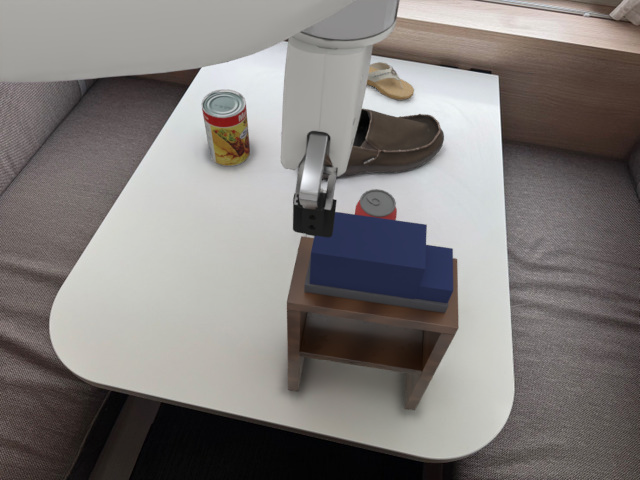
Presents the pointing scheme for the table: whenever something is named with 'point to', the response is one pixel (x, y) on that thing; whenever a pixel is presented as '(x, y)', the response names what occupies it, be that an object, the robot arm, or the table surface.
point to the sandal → (388, 81)
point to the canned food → (226, 127)
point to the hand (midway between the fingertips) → (322, 189)
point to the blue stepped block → (381, 264)
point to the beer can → (377, 205)
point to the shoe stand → (366, 332)
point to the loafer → (392, 143)
